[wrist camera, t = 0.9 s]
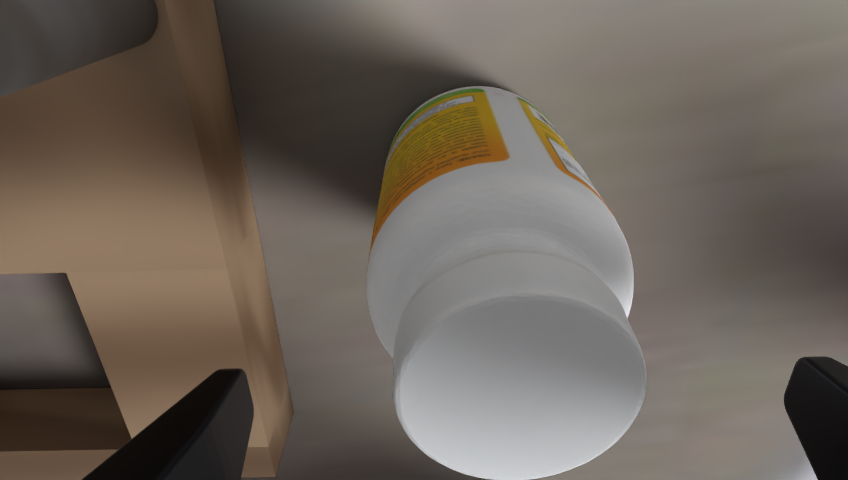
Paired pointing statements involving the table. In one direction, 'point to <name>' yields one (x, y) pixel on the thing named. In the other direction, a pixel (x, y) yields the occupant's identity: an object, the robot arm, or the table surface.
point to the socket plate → (131, 224)
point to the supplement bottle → (501, 292)
